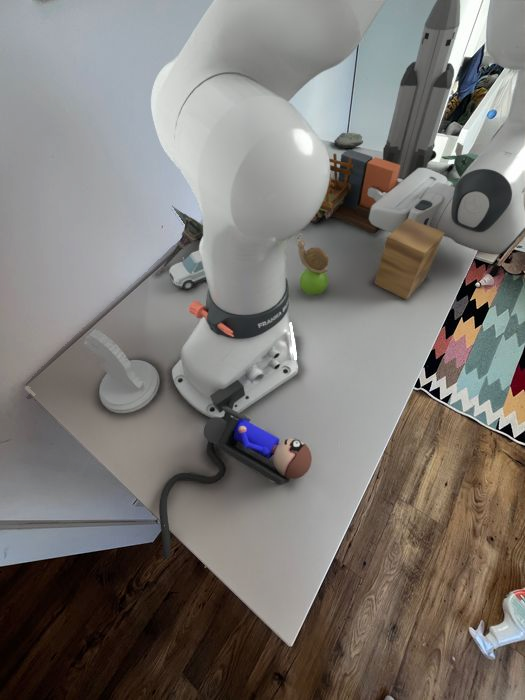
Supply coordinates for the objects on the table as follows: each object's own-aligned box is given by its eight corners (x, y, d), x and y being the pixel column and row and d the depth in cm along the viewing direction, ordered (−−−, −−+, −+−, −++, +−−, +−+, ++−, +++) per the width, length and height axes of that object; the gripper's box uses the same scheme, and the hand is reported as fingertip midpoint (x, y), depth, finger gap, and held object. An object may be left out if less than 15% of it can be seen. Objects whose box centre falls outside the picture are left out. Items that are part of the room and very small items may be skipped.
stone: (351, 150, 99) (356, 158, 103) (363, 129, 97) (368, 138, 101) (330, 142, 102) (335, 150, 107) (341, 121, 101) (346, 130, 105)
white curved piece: (128, 354, 61) (89, 295, 49) (171, 375, 58) (140, 317, 46) (88, 398, 56) (34, 344, 44) (132, 423, 53) (87, 373, 41)
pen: (453, 167, 92) (457, 164, 91) (428, 196, 85) (433, 193, 84) (450, 163, 92) (455, 160, 91) (426, 191, 85) (430, 188, 83)
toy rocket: (375, 183, 89) (415, -9, 61) (381, 167, 93) (422, -19, 65) (421, 190, 86) (486, -10, 57) (425, 173, 90) (488, -20, 62)
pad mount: (374, 234, 77) (387, 180, 67) (324, 213, 83) (329, 159, 73) (397, 214, 81) (413, 159, 71) (348, 195, 87) (356, 142, 77)
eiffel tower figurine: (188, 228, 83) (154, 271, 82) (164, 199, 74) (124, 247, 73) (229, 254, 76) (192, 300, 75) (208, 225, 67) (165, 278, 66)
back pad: (380, 219, 77) (393, 171, 69) (358, 210, 80) (367, 162, 71) (388, 213, 79) (400, 165, 70) (365, 204, 81) (375, 156, 72)
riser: (406, 299, 65) (424, 252, 56) (374, 283, 68) (387, 236, 59) (424, 280, 68) (444, 232, 59) (392, 265, 71) (407, 217, 62)
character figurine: (229, 413, 54) (314, 463, 48) (200, 451, 50) (289, 510, 44) (224, 386, 47) (321, 440, 42) (190, 426, 44) (293, 491, 38)
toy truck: (265, 183, 92) (261, 121, 80) (349, 209, 83) (358, 143, 71) (241, 203, 88) (233, 141, 76) (327, 233, 78) (333, 167, 66)
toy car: (169, 278, 72) (162, 259, 68) (223, 256, 75) (220, 237, 71) (179, 294, 69) (172, 276, 65) (235, 271, 72) (232, 252, 68)
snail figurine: (302, 277, 70) (304, 226, 61) (331, 287, 68) (338, 235, 58) (289, 293, 68) (290, 243, 58) (319, 304, 65) (324, 254, 56)
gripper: (464, 171, 70) (403, 152, 76) (414, 217, 62) (350, 192, 68) (452, 199, 76) (396, 180, 82) (404, 245, 68) (346, 220, 74)
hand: (375, 185), depth 75 cm, fingers closed on back pad, 3 cm apart
